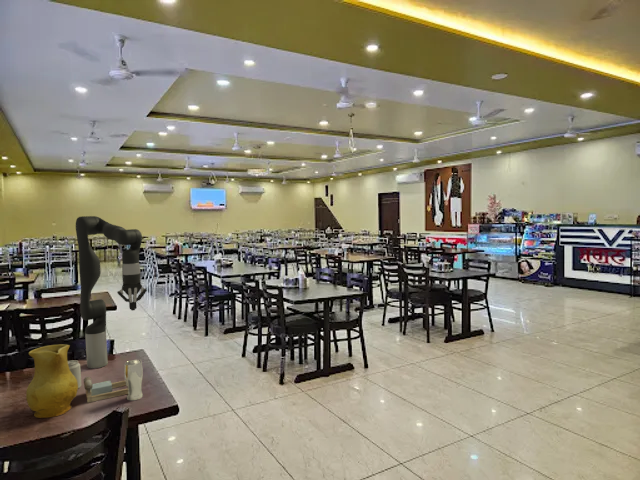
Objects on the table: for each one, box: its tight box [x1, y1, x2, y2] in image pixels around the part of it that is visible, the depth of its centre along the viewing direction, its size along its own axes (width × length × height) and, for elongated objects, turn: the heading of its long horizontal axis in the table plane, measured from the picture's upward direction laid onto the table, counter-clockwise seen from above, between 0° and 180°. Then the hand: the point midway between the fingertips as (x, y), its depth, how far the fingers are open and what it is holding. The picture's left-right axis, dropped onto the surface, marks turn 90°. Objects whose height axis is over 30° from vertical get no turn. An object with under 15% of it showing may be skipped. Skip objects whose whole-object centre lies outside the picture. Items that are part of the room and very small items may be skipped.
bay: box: [83, 376, 128, 404], centre depth 180 cm, size 11×17×7 cm, turn 122°
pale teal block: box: [91, 380, 113, 396], centre depth 181 cm, size 6×8×4 cm
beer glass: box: [123, 359, 144, 402], centre depth 176 cm, size 7×7×15 cm
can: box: [67, 359, 82, 390], centre depth 185 cm, size 8×8×12 cm
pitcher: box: [25, 343, 79, 419], centre depth 166 cm, size 17×19×25 cm
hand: (133, 310), depth 196 cm, fingers closed
